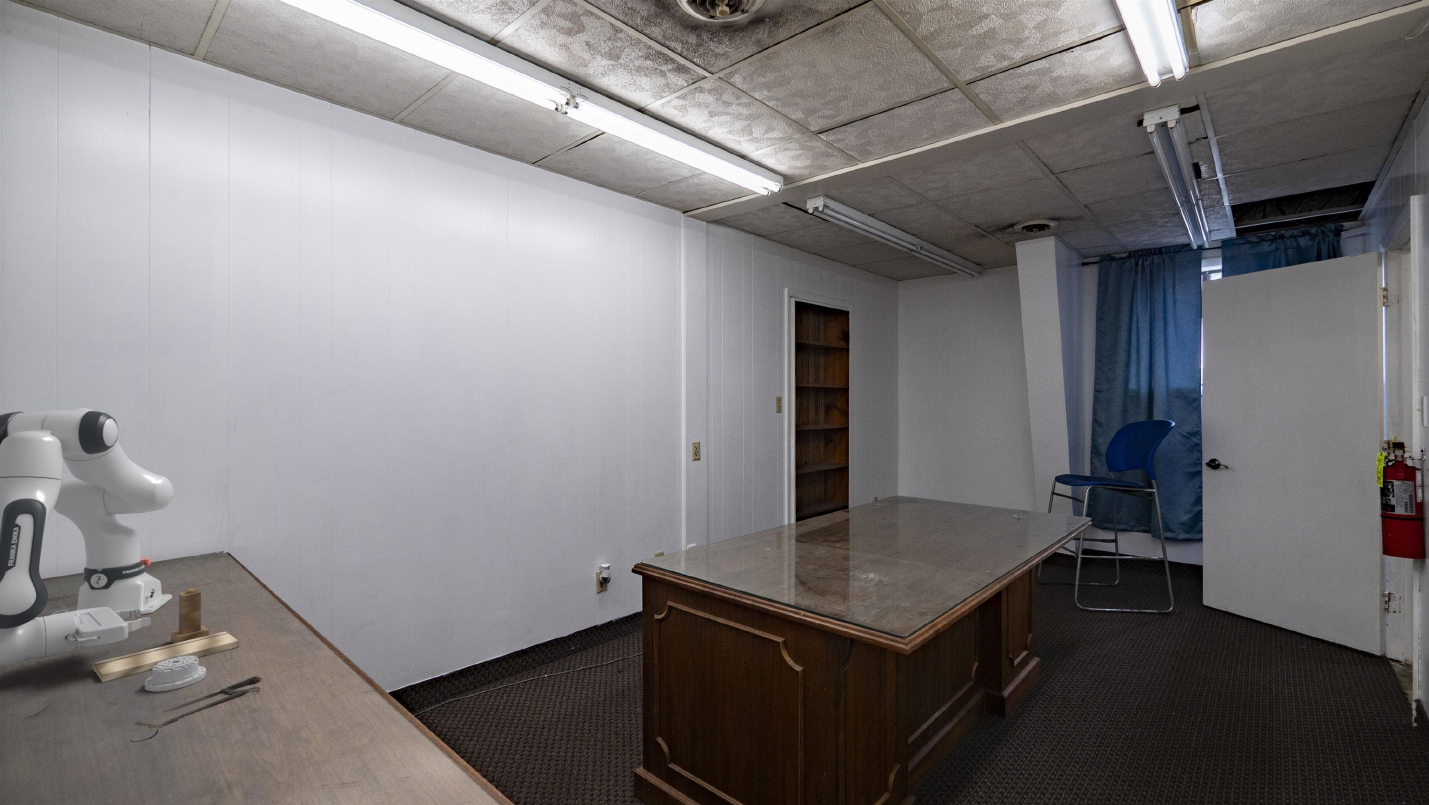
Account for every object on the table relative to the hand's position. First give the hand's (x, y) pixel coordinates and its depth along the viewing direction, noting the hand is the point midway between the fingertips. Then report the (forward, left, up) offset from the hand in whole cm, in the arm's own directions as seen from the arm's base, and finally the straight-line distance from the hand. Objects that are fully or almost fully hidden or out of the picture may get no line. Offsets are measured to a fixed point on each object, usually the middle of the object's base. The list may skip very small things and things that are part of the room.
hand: (145, 616), depth 149 cm
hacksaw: (+34, +29, -9) cm, 46 cm away
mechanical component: (+20, +17, -9) cm, 27 cm away
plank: (+6, +8, -8) cm, 13 cm away
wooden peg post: (-6, +6, -8) cm, 12 cm away
